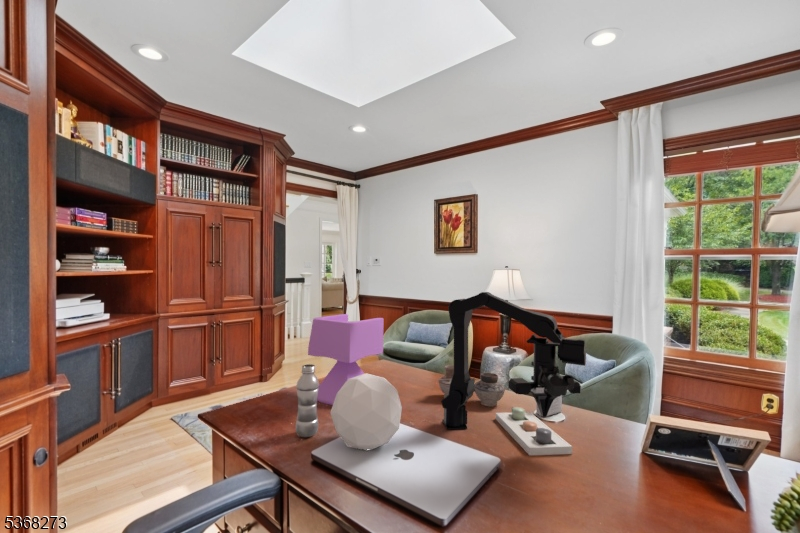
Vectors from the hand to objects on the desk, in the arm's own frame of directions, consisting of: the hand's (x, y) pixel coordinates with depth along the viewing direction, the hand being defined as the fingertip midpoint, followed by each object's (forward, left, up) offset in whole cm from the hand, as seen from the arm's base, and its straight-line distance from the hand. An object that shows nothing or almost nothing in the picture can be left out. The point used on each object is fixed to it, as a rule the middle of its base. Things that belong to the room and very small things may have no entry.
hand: (543, 416), depth 101 cm
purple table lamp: (-56, +43, -9) cm, 71 cm away
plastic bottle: (-66, +12, -9) cm, 68 cm away
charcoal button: (0, 0, -7) cm, 7 cm away
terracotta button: (0, +8, -8) cm, 11 cm away
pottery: (-9, +37, -9) cm, 39 cm away
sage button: (0, +16, -7) cm, 17 cm away
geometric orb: (-49, +5, -9) cm, 50 cm away
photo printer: (+15, +24, -9) cm, 30 cm away
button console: (0, +8, -8) cm, 12 cm away
